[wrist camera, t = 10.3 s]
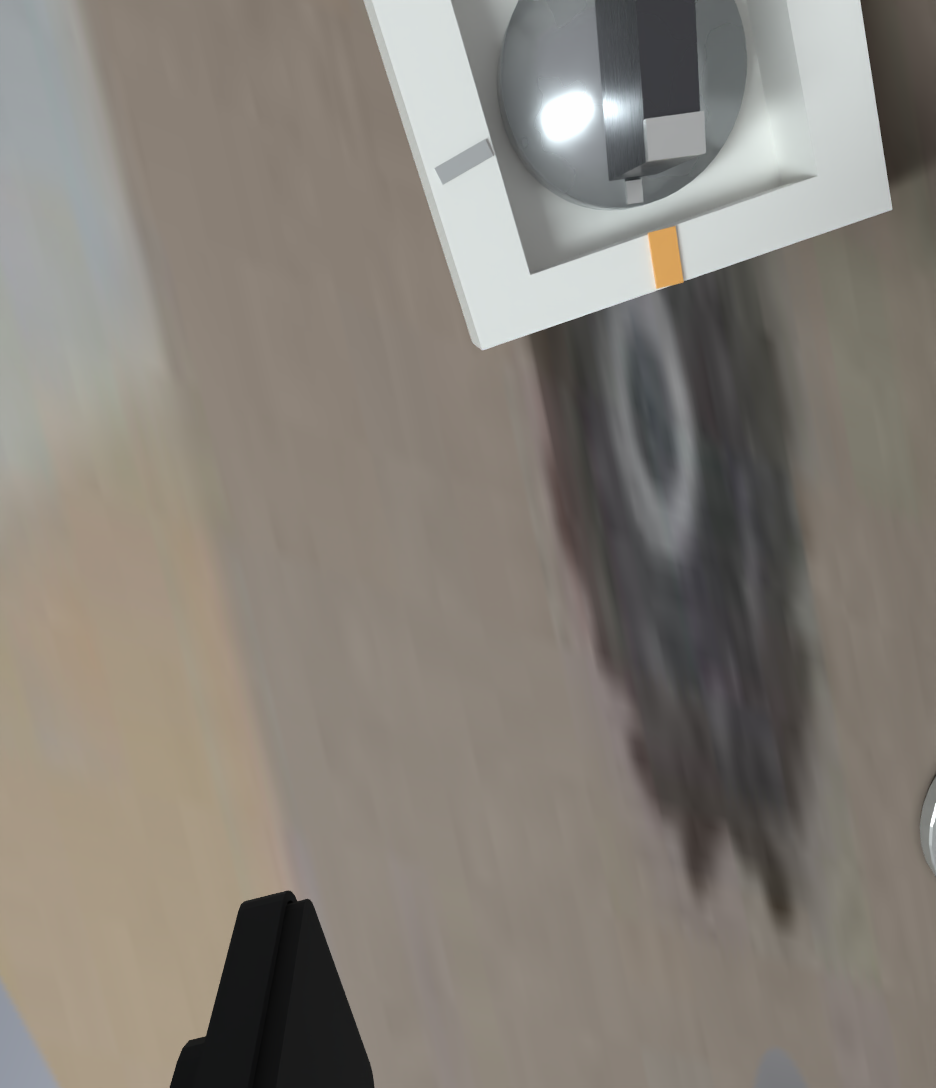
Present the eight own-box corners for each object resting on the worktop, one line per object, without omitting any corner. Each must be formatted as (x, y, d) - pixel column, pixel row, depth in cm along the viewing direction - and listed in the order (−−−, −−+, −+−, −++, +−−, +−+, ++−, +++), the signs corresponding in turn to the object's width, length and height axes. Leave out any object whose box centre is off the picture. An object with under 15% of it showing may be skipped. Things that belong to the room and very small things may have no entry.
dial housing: (832, 219, 35) (895, 209, 31) (472, 342, 36) (482, 351, 31) (759, -198, 31) (819, -280, 26) (346, -52, 31) (337, -108, 27)
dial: (482, -41, 30) (504, -129, 24) (727, -73, 30) (815, -168, 24) (512, 225, 33) (539, 210, 26) (736, 193, 33) (817, 171, 27)
